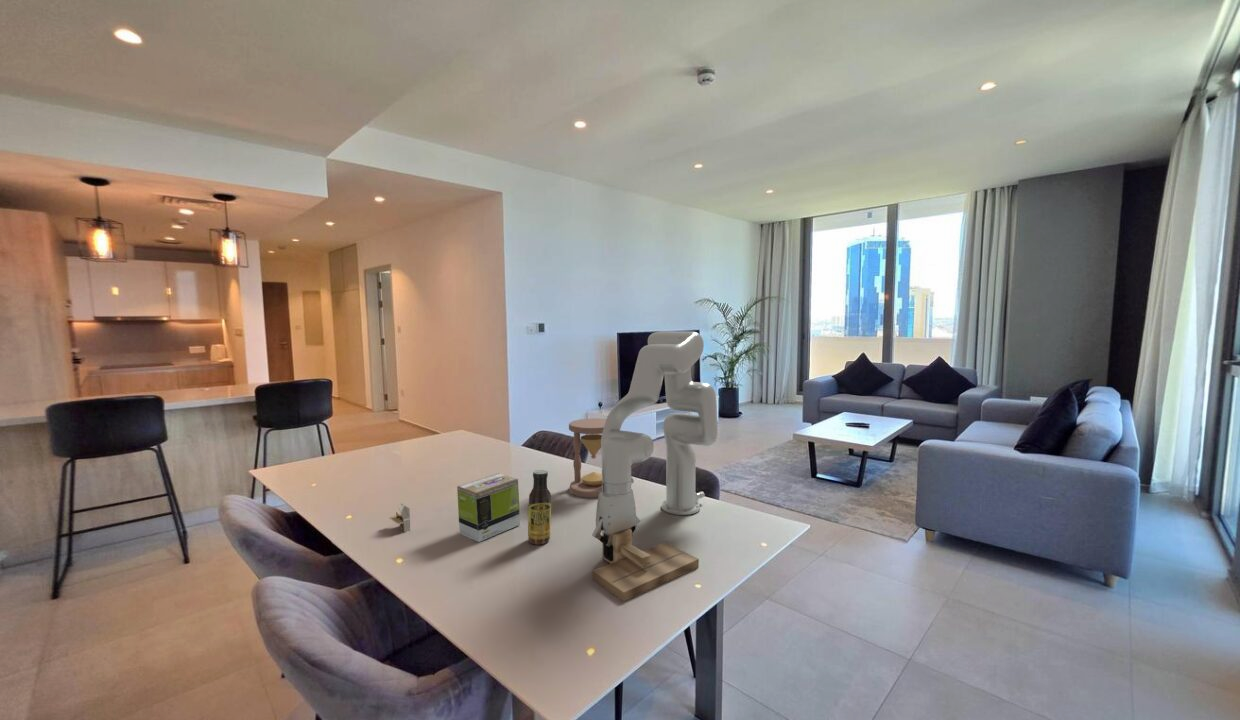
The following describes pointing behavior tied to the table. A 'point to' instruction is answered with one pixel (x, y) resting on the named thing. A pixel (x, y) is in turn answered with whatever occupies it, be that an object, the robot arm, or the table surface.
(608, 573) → the board
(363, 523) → the table surface
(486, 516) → the tea box
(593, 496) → the hourglass
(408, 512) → the architectural model
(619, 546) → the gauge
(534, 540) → the sauce bottle
